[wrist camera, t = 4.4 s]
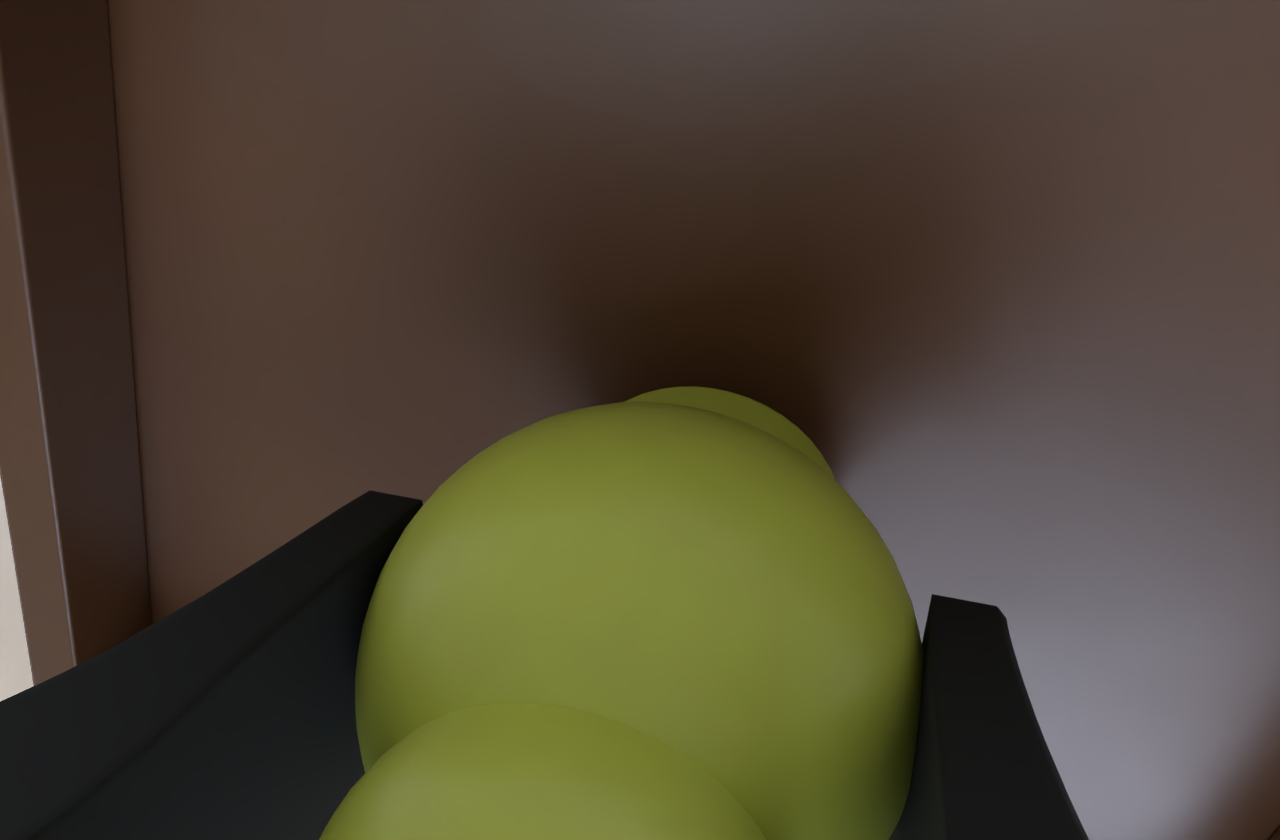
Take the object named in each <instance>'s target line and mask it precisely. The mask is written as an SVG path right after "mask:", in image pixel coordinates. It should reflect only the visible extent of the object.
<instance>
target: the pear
mask: <svg viewBox="0 0 1280 840" xmlns="http://www.w3.org/2000/svg"><path fill="white" fill-rule="evenodd" d="M923 658H924V652H923V647H922V642H921V638H920V633H919V628H918V624H917V620H916V616H915V612H914V607H913V603H912V601H911V598H910V596H909V593H908V591H907V589H906V586H905V584H904V581H903V579H902V577H901V574H900V572H899V570H898V567H897V565H896V563H895V561H894V558H893V556H892V554H891V552H890V551H889V549H888V547H887V546H886V544H885V542H884V541H883V539H882V537H881V536H880V534H879V532H878V531H877V529H876V528H875V526H874V525H873V524H872V523H871V521H870V520H869V519H868V518H867V516H866V515H865V514H864V512H863V511H862V510H861V509H860V507H859V506H858V505H857V504H856V502H855V501H854V500H853V499H852V497H851V496H850V495H849V494H848V492H847V491H846V490H845V489H844V488H843V487H842V486H840V485H839V484H838V483H837V482H836V480H835V478H834V476H833V473H832V471H831V469H830V467H829V465H828V464H827V462H826V460H825V459H824V457H823V455H822V454H821V452H820V451H819V450H818V448H817V447H816V446H815V445H814V443H813V442H812V441H811V440H810V439H809V438H808V437H807V436H806V435H805V434H804V433H803V432H802V431H801V430H800V429H799V428H798V427H797V426H796V425H795V424H793V423H792V422H791V421H789V420H788V419H787V418H785V417H784V416H783V415H781V414H780V413H778V412H776V411H775V410H773V409H771V408H770V407H768V406H766V405H764V404H762V403H760V402H758V401H755V400H753V399H751V398H749V397H746V396H742V395H739V394H736V393H733V392H730V391H725V390H720V389H716V388H708V387H698V386H682V387H671V388H664V389H658V390H655V391H651V392H647V393H644V394H641V395H639V396H636V397H634V398H632V399H629V400H627V401H625V402H619V403H612V404H604V405H597V406H591V407H586V408H581V409H576V410H573V411H569V412H565V413H562V414H558V415H554V416H551V417H547V418H545V419H543V420H541V421H538V422H536V423H534V424H531V425H529V426H527V427H524V428H522V429H520V430H518V431H516V432H514V433H512V434H510V435H508V436H506V437H504V438H502V439H500V440H499V441H497V442H496V443H494V444H492V445H491V446H489V447H488V448H486V449H484V450H483V451H481V452H480V453H478V454H477V455H476V456H475V457H473V458H472V459H471V460H469V461H468V462H467V463H466V464H464V465H463V466H462V467H461V468H459V469H458V470H457V471H456V472H455V473H454V474H453V475H452V476H450V477H449V478H448V479H447V480H446V481H445V482H444V483H443V484H441V485H440V486H439V487H438V489H437V490H436V491H435V492H434V493H433V494H432V496H431V497H430V498H429V499H428V500H427V501H426V503H425V504H424V505H423V506H422V507H421V509H420V510H419V511H418V512H417V514H416V515H415V516H414V517H413V519H412V520H411V521H410V523H409V524H408V525H407V526H406V528H405V529H404V531H403V533H402V535H401V536H400V538H399V540H398V542H397V543H396V545H395V547H394V548H393V550H392V552H391V554H390V556H389V558H388V560H387V562H386V563H385V565H384V567H383V569H382V571H381V573H380V575H379V578H378V581H377V583H376V586H375V589H374V592H373V594H372V597H371V600H370V603H369V606H368V610H367V613H366V616H365V619H364V623H363V627H362V632H361V638H360V644H359V649H358V656H357V665H356V674H355V713H356V727H357V735H358V740H359V746H360V751H361V757H362V762H363V766H364V770H365V774H364V775H363V776H362V777H361V778H360V779H359V780H358V781H357V783H356V784H355V785H354V786H353V787H352V788H351V789H350V791H349V792H348V793H347V795H346V796H345V798H344V799H343V801H342V802H341V804H340V805H339V806H338V808H337V809H336V811H335V812H334V814H333V815H332V817H331V819H330V820H329V822H328V824H327V825H326V827H325V829H324V831H323V833H322V835H321V837H320V839H319V840H889V838H890V836H891V834H892V833H893V831H894V829H895V827H896V825H897V824H898V822H899V820H900V817H901V814H902V812H903V809H904V806H905V803H906V799H907V796H908V793H909V790H910V784H911V778H912V771H913V765H914V759H915V752H916V743H917V734H918V725H919V715H920V699H921V683H922V674H923Z"/></svg>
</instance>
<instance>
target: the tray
mask: <svg viewBox="0 0 1280 840" xmlns="http://www.w3.org/2000/svg"><path fill="white" fill-rule="evenodd" d="M682 386H698V387H708V388H716V389H720V390H725V391H730V392H733V393H736V394H739V395H742V396H746V397H749V398H751V399H753V400H755V401H758V402H760V403H762V404H764V405H766V406H768V407H770V408H771V409H773V410H775V411H776V412H778V413H780V414H781V415H783V416H784V417H785V418H787V419H788V420H789V421H791V422H792V423H793V424H795V425H796V426H797V427H798V428H799V429H800V430H801V431H802V432H803V433H804V434H805V435H806V436H807V437H808V438H809V439H810V440H811V441H812V442H813V443H814V445H815V446H816V447H817V448H818V450H819V451H820V452H821V454H822V455H823V457H824V459H825V460H826V462H827V464H828V465H829V467H830V469H831V471H832V473H833V476H834V478H835V480H836V482H837V483H838V484H839V485H840V486H842V487H843V488H844V489H845V490H846V491H847V492H848V494H849V495H850V496H851V497H852V499H853V500H854V501H855V502H856V504H857V505H858V506H859V507H860V509H861V510H862V511H863V512H864V514H865V515H866V516H867V518H868V519H869V520H870V521H871V523H872V524H873V525H874V526H875V528H876V529H877V531H878V532H879V534H880V536H881V537H882V539H883V541H884V542H885V544H886V546H887V547H888V549H889V551H890V552H891V554H892V556H893V558H894V561H895V563H896V565H897V567H898V570H899V572H900V574H901V577H902V579H903V581H904V584H905V586H906V589H907V591H908V593H909V596H910V598H911V601H912V603H913V607H914V612H915V616H916V620H917V624H918V628H919V633H920V638H921V642H922V641H923V636H924V631H925V626H926V621H927V616H928V611H929V606H930V601H931V596H932V594H934V595H940V596H945V597H951V598H956V599H961V600H967V601H972V602H978V603H983V604H989V605H994V606H997V607H998V608H999V609H1000V611H1001V612H1002V613H1003V614H1004V616H1005V617H1006V619H1007V624H1008V629H1009V633H1010V637H1011V641H1012V645H1013V649H1014V652H1015V656H1016V659H1017V662H1018V666H1019V669H1020V672H1021V675H1022V678H1023V681H1024V684H1025V687H1026V690H1027V693H1028V696H1029V698H1030V701H1031V704H1032V707H1033V710H1034V713H1035V715H1036V718H1037V721H1038V723H1039V726H1040V728H1041V731H1042V734H1043V736H1044V739H1045V741H1046V744H1047V746H1048V748H1049V751H1050V753H1051V755H1052V758H1053V760H1054V763H1055V765H1056V767H1057V770H1058V772H1059V774H1060V777H1061V779H1062V781H1063V784H1064V786H1065V788H1066V791H1067V793H1068V795H1069V798H1070V800H1071V802H1072V804H1073V806H1074V809H1075V811H1076V813H1077V815H1078V817H1079V819H1080V821H1081V824H1082V826H1083V828H1084V830H1085V832H1086V834H1087V836H1088V838H1089V840H1280V0H0V475H1V481H2V488H3V494H4V500H5V507H6V513H7V519H8V526H9V532H10V538H11V545H12V551H13V557H14V563H15V570H16V576H17V582H18V589H19V595H20V601H21V608H22V614H23V620H24V627H25V633H26V639H27V646H28V652H29V658H30V665H31V671H32V677H33V684H34V686H35V685H37V684H40V683H42V682H44V681H46V680H48V679H50V678H52V677H54V676H56V675H59V674H61V673H63V672H65V671H67V670H69V669H71V668H73V667H75V666H77V665H79V664H81V663H83V662H85V661H87V660H89V659H91V658H93V657H95V656H97V655H99V654H100V653H102V652H104V651H106V650H108V649H110V648H112V647H114V646H116V645H117V644H119V643H121V642H123V641H124V640H126V639H128V638H130V637H131V636H133V635H135V634H137V633H138V632H140V631H142V630H144V629H145V628H147V627H149V626H151V625H152V624H154V623H156V622H158V621H159V620H161V619H163V618H165V617H166V616H168V615H170V614H172V613H173V612H175V611H177V610H179V609H180V608H182V607H184V606H186V605H187V604H189V603H191V602H193V601H194V600H196V599H198V598H200V597H201V596H203V595H205V594H206V593H208V592H210V591H211V590H213V589H214V588H216V587H218V586H219V585H221V584H222V583H224V582H226V581H227V580H229V579H230V578H232V577H234V576H235V575H237V574H238V573H240V572H241V571H243V570H245V569H246V568H248V567H249V566H251V565H253V564H254V563H256V562H257V561H259V560H261V559H262V558H264V557H265V556H267V555H268V554H270V553H272V552H273V551H275V550H276V549H278V548H279V547H281V546H282V545H284V544H286V543H287V542H289V541H290V540H292V539H293V538H295V537H296V536H298V535H299V534H301V533H303V532H304V531H306V530H307V529H309V528H310V527H312V526H313V525H315V524H316V523H318V522H319V521H321V520H323V519H324V518H326V517H327V516H329V515H330V514H332V513H333V512H335V511H337V510H338V509H340V508H341V507H343V506H344V505H346V504H348V503H349V502H351V501H353V500H354V499H356V498H358V497H359V496H361V495H363V494H364V493H366V492H368V491H369V490H371V491H376V492H382V493H387V494H393V495H398V496H403V497H409V498H414V499H420V500H422V502H423V505H424V504H425V503H426V501H427V500H428V499H429V498H430V497H431V496H432V494H433V493H434V492H435V491H436V490H437V489H438V487H439V486H440V485H441V484H443V483H444V482H445V481H446V480H447V479H448V478H449V477H450V476H452V475H453V474H454V473H455V472H456V471H457V470H458V469H459V468H461V467H462V466H463V465H464V464H466V463H467V462H468V461H469V460H471V459H472V458H473V457H475V456H476V455H477V454H478V453H480V452H481V451H483V450H484V449H486V448H488V447H489V446H491V445H492V444H494V443H496V442H497V441H499V440H500V439H502V438H504V437H506V436H508V435H510V434H512V433H514V432H516V431H518V430H520V429H522V428H524V427H527V426H529V425H531V424H534V423H536V422H538V421H541V420H543V419H545V418H547V417H551V416H554V415H558V414H562V413H565V412H569V411H573V410H576V409H581V408H586V407H591V406H597V405H604V404H612V403H619V402H625V401H627V400H629V399H632V398H634V397H636V396H639V395H641V394H644V393H647V392H651V391H655V390H658V389H664V388H671V387H682ZM889 840H890V838H889Z"/></svg>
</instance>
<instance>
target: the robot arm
mask: <svg viewBox="0 0 1280 840" xmlns="http://www.w3.org/2000/svg"><path fill="white" fill-rule="evenodd" d="M422 506H423V502H422V500H420V499H414V498H409V497H403V496H398V495H393V494H387V493H382V492H376V491H371V490H369V491H368V492H366V493H364V494H363V495H361V496H359V497H358V498H356V499H354V500H353V501H351V502H349V503H348V504H346V505H344V506H343V507H341V508H340V509H338V510H337V511H335V512H333V513H332V514H330V515H329V516H327V517H326V518H324V519H323V520H321V521H319V522H318V523H316V524H315V525H313V526H312V527H310V528H309V529H307V530H306V531H304V532H303V533H301V534H299V535H298V536H296V537H295V538H293V539H292V540H290V541H289V542H287V543H286V544H284V545H282V546H281V547H279V548H278V549H276V550H275V551H273V552H272V553H270V554H268V555H267V556H265V557H264V558H262V559H261V560H259V561H257V562H256V563H254V564H253V565H251V566H249V567H248V568H246V569H245V570H243V571H241V572H240V573H238V574H237V575H235V576H234V577H232V578H230V579H229V580H227V581H226V582H224V583H222V584H221V585H219V586H218V587H216V588H214V589H213V590H211V591H210V592H208V593H206V594H205V595H203V596H201V597H200V598H198V599H196V600H194V601H193V602H191V603H189V604H187V605H186V606H184V607H182V608H180V609H179V610H177V611H175V612H173V613H172V614H170V615H168V616H166V617H165V618H163V619H161V620H159V621H158V622H156V623H154V624H152V625H151V626H149V627H147V628H145V629H144V630H142V631H140V632H138V633H137V634H135V635H133V636H131V637H130V638H128V639H126V640H124V641H123V642H121V643H119V644H117V645H116V646H114V647H112V648H110V649H108V650H106V651H104V652H102V653H100V654H99V655H97V656H95V657H93V658H91V659H89V660H87V661H85V662H83V663H81V664H79V665H77V666H75V667H73V668H71V669H69V670H67V671H65V672H63V673H61V674H59V675H56V676H54V677H52V678H50V679H48V680H46V681H44V682H42V683H40V684H37V685H35V686H33V687H31V688H29V689H27V690H25V691H23V692H21V693H18V694H16V695H14V696H12V697H10V698H7V699H5V700H3V701H1V702H0V840H319V839H320V837H321V835H322V833H323V831H324V829H325V827H326V825H327V824H328V822H329V820H330V819H331V817H332V815H333V814H334V812H335V811H336V809H337V808H338V806H339V805H340V804H341V802H342V801H343V799H344V798H345V796H346V795H347V793H348V792H349V791H350V789H351V788H352V787H353V786H354V785H355V784H356V783H357V781H358V780H359V779H360V778H361V777H362V776H363V775H364V774H365V770H364V766H363V762H362V757H361V751H360V746H359V740H358V735H357V727H356V713H355V674H356V665H357V656H358V649H359V644H360V638H361V632H362V627H363V623H364V619H365V616H366V613H367V610H368V606H369V603H370V600H371V597H372V594H373V592H374V589H375V586H376V583H377V581H378V578H379V575H380V573H381V571H382V569H383V567H384V565H385V563H386V562H387V560H388V558H389V556H390V554H391V552H392V550H393V548H394V547H395V545H396V543H397V542H398V540H399V538H400V536H401V535H402V533H403V531H404V529H405V528H406V526H407V525H408V524H409V523H410V521H411V520H412V519H413V517H414V516H415V515H416V514H417V512H418V511H419V510H420V509H421V507H422ZM922 647H923V652H924V658H923V674H922V683H921V699H920V715H919V725H918V734H917V743H916V752H915V759H914V765H913V771H912V778H911V784H910V790H909V793H908V796H907V799H906V803H905V806H904V809H903V812H902V814H901V817H900V820H899V822H898V824H897V825H896V827H895V829H894V831H893V833H892V834H891V836H890V840H1089V838H1088V836H1087V834H1086V832H1085V830H1084V828H1083V826H1082V824H1081V821H1080V819H1079V817H1078V815H1077V813H1076V811H1075V809H1074V806H1073V804H1072V802H1071V800H1070V798H1069V795H1068V793H1067V791H1066V788H1065V786H1064V784H1063V781H1062V779H1061V777H1060V774H1059V772H1058V770H1057V767H1056V765H1055V763H1054V760H1053V758H1052V755H1051V753H1050V751H1049V748H1048V746H1047V744H1046V741H1045V739H1044V736H1043V734H1042V731H1041V728H1040V726H1039V723H1038V721H1037V718H1036V715H1035V713H1034V710H1033V707H1032V704H1031V701H1030V698H1029V696H1028V693H1027V690H1026V687H1025V684H1024V681H1023V678H1022V675H1021V672H1020V669H1019V666H1018V662H1017V659H1016V656H1015V652H1014V649H1013V645H1012V641H1011V637H1010V633H1009V629H1008V624H1007V619H1006V617H1005V616H1004V614H1003V613H1002V612H1001V611H1000V609H999V608H998V607H997V606H994V605H989V604H983V603H978V602H972V601H967V600H961V599H956V598H951V597H945V596H940V595H934V594H932V596H931V601H930V606H929V611H928V616H927V621H926V626H925V631H924V636H923V641H922Z"/></svg>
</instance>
